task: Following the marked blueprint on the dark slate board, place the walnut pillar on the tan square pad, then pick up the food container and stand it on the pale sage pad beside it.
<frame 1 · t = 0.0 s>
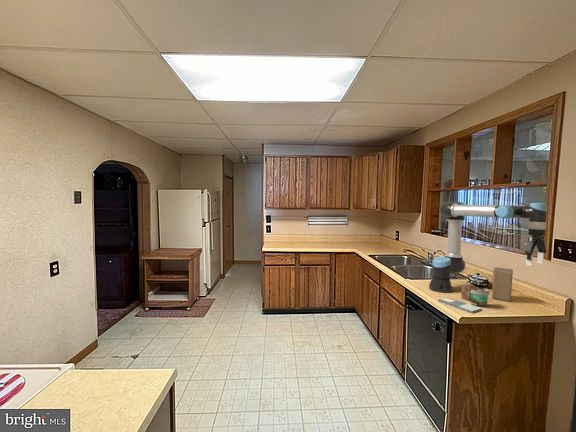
hand: (534, 264, 166), 28 cm above the counter, fingers open, 13 cm apart
wooden block: (501, 298, 188), on the counter
walnut pillar: (467, 299, 185), on the counter
food container: (481, 306, 173), on the counter
board: (458, 305, 174), on the counter
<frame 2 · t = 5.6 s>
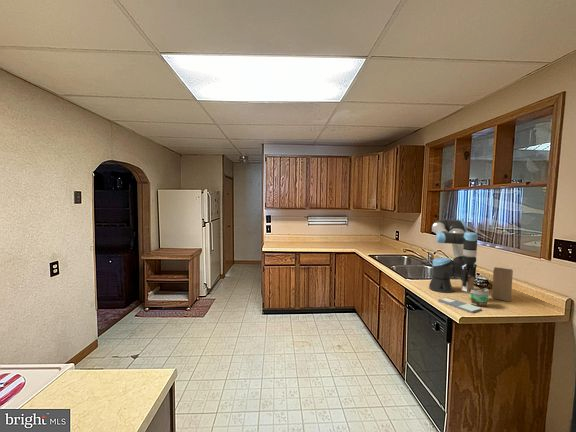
hand: (467, 290, 185), 6 cm above the counter, fingers closed on walnut pillar, 5 cm apart
walnut pillar: (467, 290, 185), point 6 cm above the counter, touching gripper
everything else where it was.
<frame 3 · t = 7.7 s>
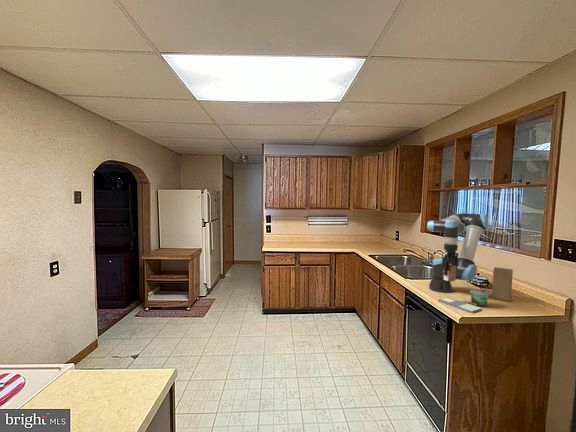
hand: (449, 279, 179), 15 cm above the counter, fingers closed on walnut pillar, 5 cm apart
walnut pillar: (449, 280, 179), point 14 cm above the counter, touching gripper
everything else where it was.
when the fingers open (2 cm above the counter, at t = 10.1 s): walnut pillar stays where it is, resting on board.
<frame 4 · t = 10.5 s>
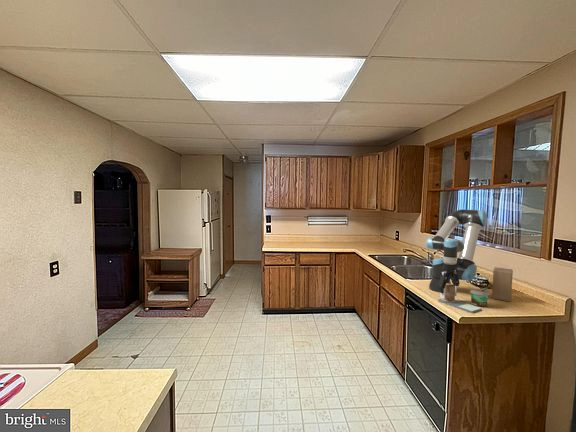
hand: (448, 296, 180), 3 cm above the counter, fingers open, 11 cm apart
walnut pillar: (448, 299, 180), point 1 cm above the counter, touching board
everything else where it was.
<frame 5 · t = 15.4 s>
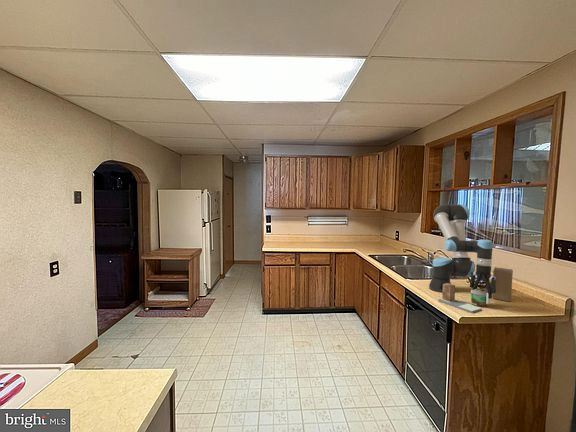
hand: (481, 301, 173), 3 cm above the counter, fingers closed on food container, 6 cm apart
food container: (481, 306, 173), on the counter, touching gripper
everything else where it was.
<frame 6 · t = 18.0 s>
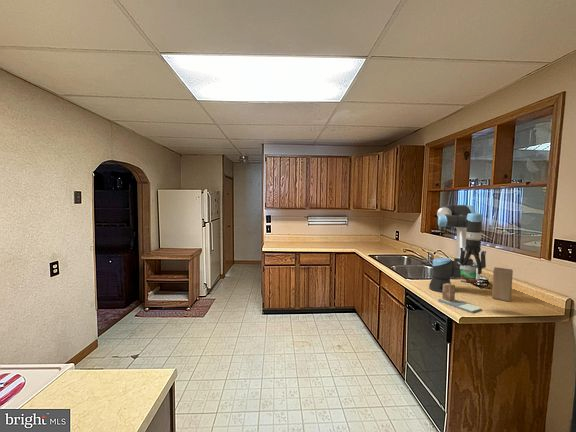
hand: (471, 277, 167), 19 cm above the counter, fingers closed on food container, 6 cm apart
food container: (471, 282, 167), point 16 cm above the counter, touching gripper
everything else where it was.
when the fingers open (5 cm above the counter, at t = 20.8 s): food container stays where it is, resting on board.
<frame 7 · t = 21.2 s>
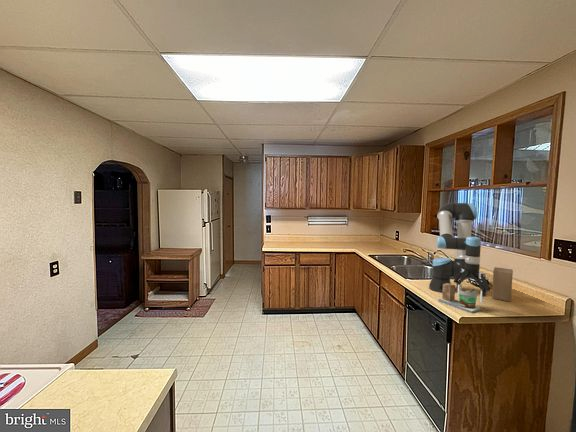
hand: (470, 298, 167), 7 cm above the counter, fingers open, 12 cm apart
food container: (470, 307, 168), point 1 cm above the counter, touching board
everything else where it was.
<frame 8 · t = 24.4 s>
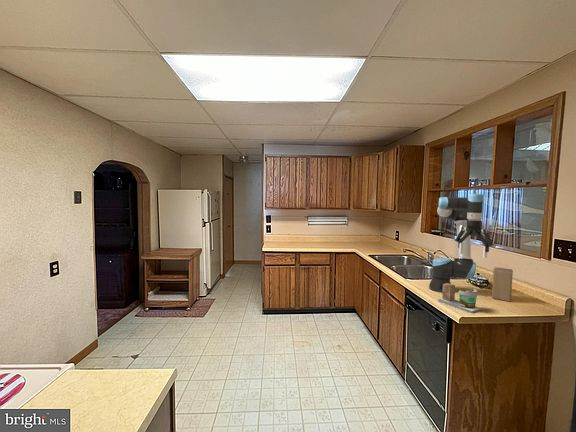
hand: (472, 255, 166), 33 cm above the counter, fingers open, 13 cm apart
nothing on the counter moved.
at the end: walnut pillar 0.1 cm from the target spot on the board, point 1.3 cm above the board's base; food container inside the target area on the board (0.2 cm from its centre), point 1.1 cm above the board's base; food container tilted 0° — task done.
